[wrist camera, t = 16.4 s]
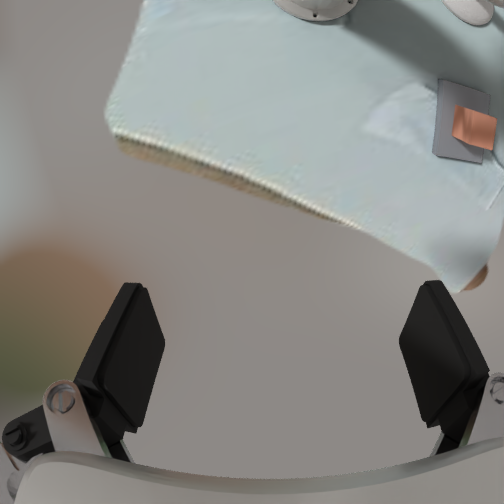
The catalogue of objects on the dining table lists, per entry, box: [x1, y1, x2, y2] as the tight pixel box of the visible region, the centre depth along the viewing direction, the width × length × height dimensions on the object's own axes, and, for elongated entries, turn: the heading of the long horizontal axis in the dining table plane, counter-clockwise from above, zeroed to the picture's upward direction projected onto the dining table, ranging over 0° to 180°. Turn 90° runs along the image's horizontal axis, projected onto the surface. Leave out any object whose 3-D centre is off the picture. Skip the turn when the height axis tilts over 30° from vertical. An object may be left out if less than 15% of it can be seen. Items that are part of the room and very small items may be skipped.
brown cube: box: [452, 105, 497, 150], centre depth 31 cm, size 5×5×5 cm
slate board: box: [432, 79, 490, 163], centre depth 33 cm, size 12×10×2 cm
